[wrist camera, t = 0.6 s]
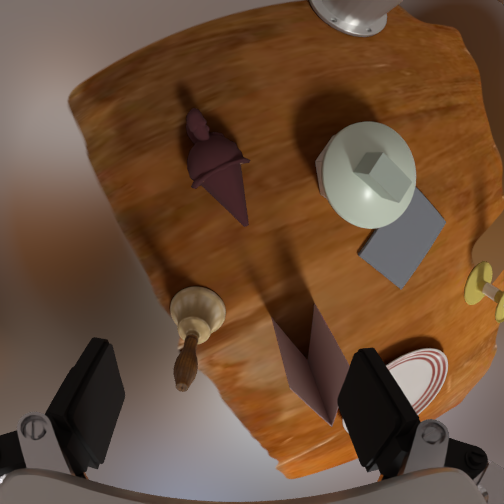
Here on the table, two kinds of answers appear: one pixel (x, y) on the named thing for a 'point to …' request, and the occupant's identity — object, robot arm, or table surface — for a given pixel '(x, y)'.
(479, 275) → the candle
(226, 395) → the table surface
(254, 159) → the table surface
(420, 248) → the mat
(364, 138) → the lid
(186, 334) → the hand bell
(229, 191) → the icecream
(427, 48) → the table surface
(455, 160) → the table surface
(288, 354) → the greeting card
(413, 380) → the dinner plate
